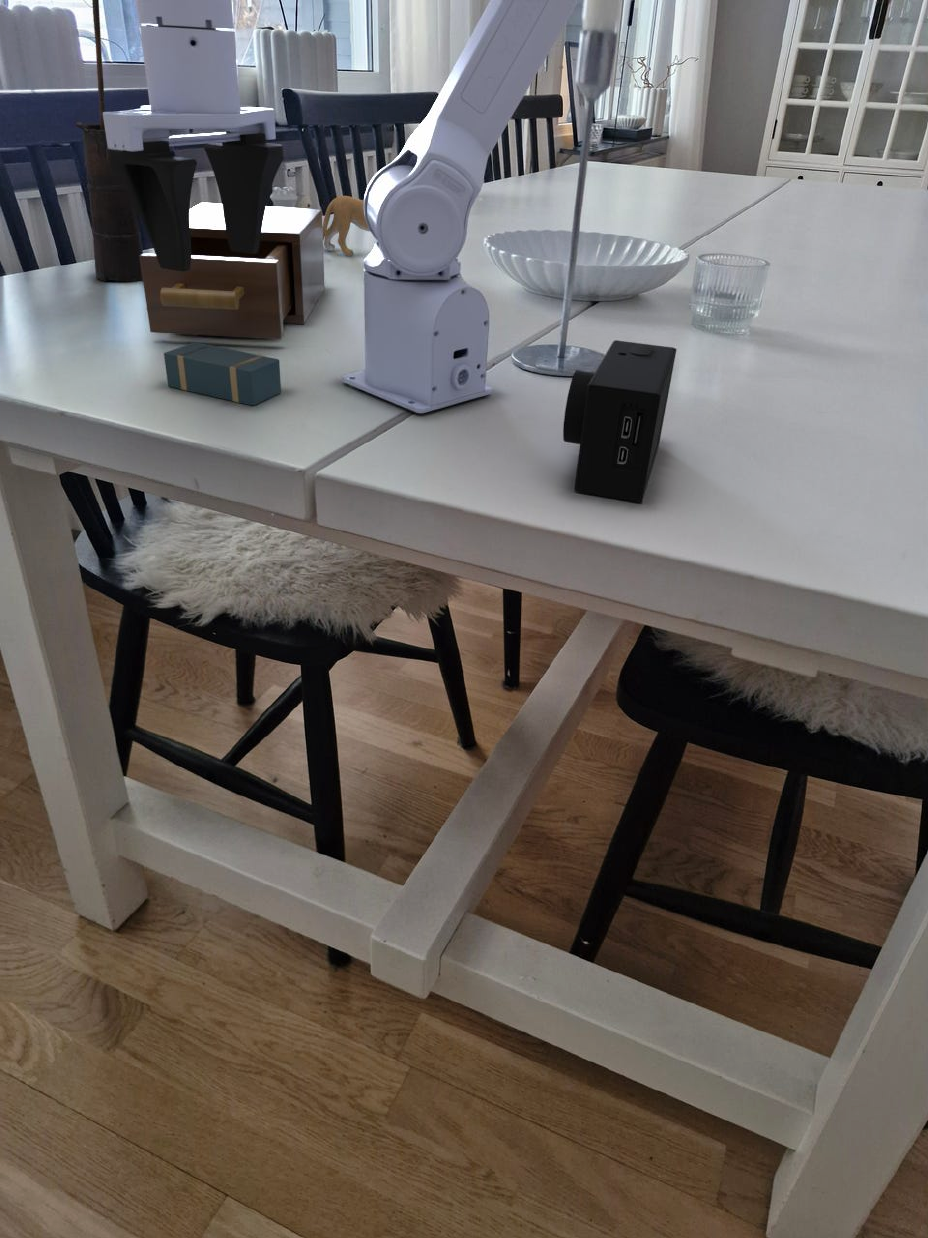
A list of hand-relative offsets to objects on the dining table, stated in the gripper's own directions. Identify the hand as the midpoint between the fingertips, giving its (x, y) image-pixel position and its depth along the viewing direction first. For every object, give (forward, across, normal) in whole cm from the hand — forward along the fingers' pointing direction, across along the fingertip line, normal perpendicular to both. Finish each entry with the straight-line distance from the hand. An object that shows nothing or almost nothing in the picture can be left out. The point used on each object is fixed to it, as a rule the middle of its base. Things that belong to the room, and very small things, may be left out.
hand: (211, 259), depth 61 cm
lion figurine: (+10, -53, -18) cm, 57 cm away
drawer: (+8, -13, -10) cm, 18 cm away
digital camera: (+10, -2, +30) cm, 32 cm away
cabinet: (+9, -23, -14) cm, 29 cm away
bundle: (+9, 0, 0) cm, 9 cm away
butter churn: (+10, -22, -32) cm, 40 cm away
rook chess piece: (+10, -43, -24) cm, 50 cm away
